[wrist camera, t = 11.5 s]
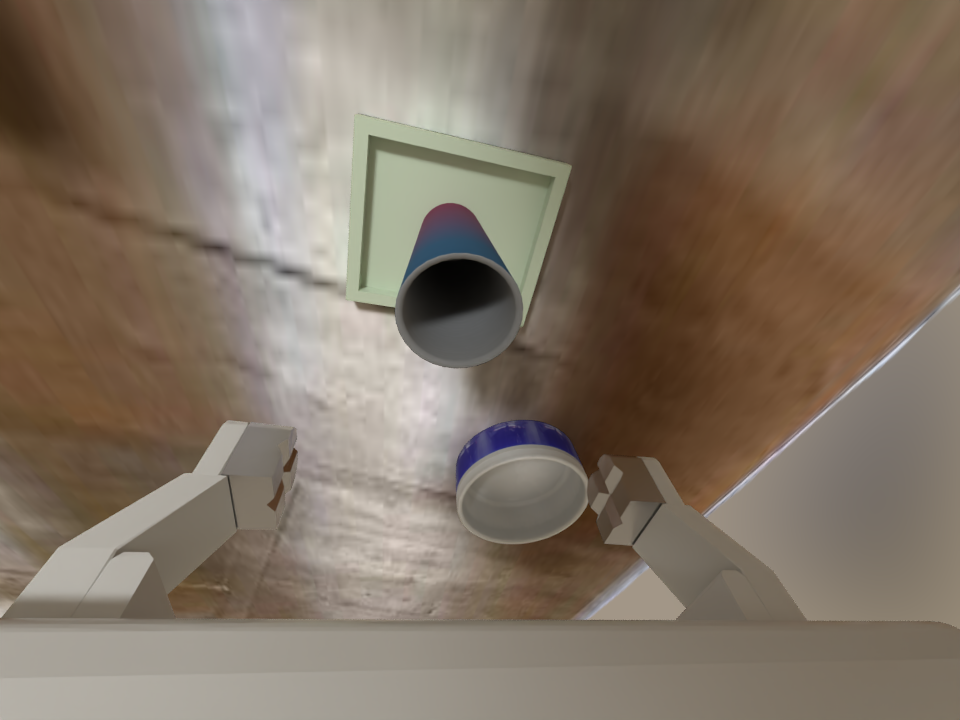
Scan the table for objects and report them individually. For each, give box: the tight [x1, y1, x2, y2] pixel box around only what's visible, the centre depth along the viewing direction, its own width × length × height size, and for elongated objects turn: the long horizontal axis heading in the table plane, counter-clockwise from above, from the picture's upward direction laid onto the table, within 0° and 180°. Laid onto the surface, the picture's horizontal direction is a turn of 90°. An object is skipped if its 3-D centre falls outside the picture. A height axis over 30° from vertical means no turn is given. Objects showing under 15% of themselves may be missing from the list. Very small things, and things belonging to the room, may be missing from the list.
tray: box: [346, 114, 572, 327], centre depth 34 cm, size 14×16×2 cm
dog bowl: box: [456, 420, 589, 544], centre depth 49 cm, size 15×15×6 cm
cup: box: [395, 203, 523, 368], centre depth 28 cm, size 7×7×15 cm
